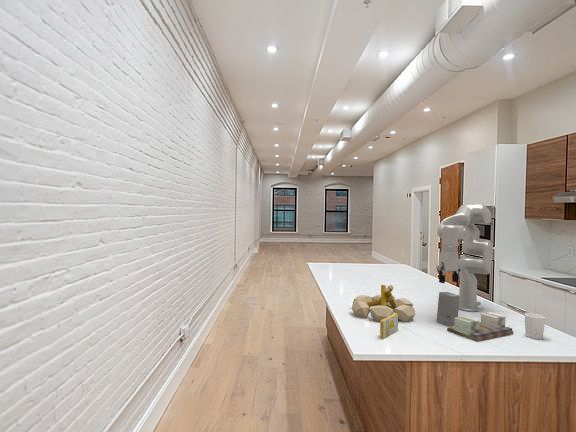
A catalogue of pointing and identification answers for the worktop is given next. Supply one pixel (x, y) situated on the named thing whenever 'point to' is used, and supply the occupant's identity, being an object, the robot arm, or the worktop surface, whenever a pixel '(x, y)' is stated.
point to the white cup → (534, 325)
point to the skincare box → (447, 308)
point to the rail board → (481, 327)
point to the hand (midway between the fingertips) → (448, 282)
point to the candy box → (388, 326)
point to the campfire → (383, 306)
